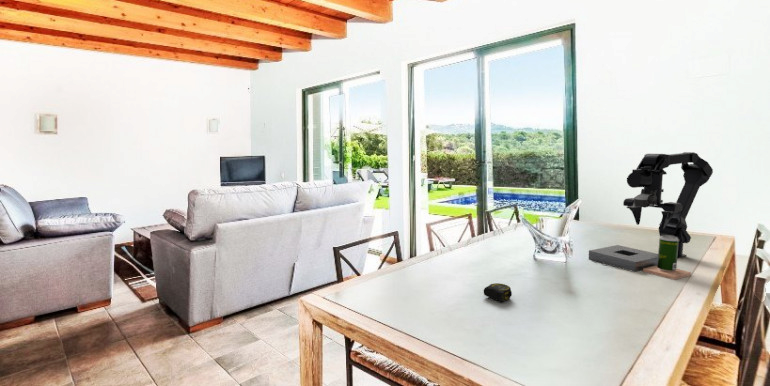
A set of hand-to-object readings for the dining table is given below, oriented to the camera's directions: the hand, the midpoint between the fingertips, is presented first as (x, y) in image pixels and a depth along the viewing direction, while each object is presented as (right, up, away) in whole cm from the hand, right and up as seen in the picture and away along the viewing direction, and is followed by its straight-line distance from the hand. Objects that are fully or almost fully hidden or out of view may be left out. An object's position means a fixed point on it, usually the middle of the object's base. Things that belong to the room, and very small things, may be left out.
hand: (650, 226), depth 152 cm
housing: (-11, -13, -2) cm, 17 cm away
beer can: (-5, -14, -15) cm, 21 cm away
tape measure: (-70, -19, -37) cm, 81 cm away
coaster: (-5, -15, -15) cm, 22 cm away
